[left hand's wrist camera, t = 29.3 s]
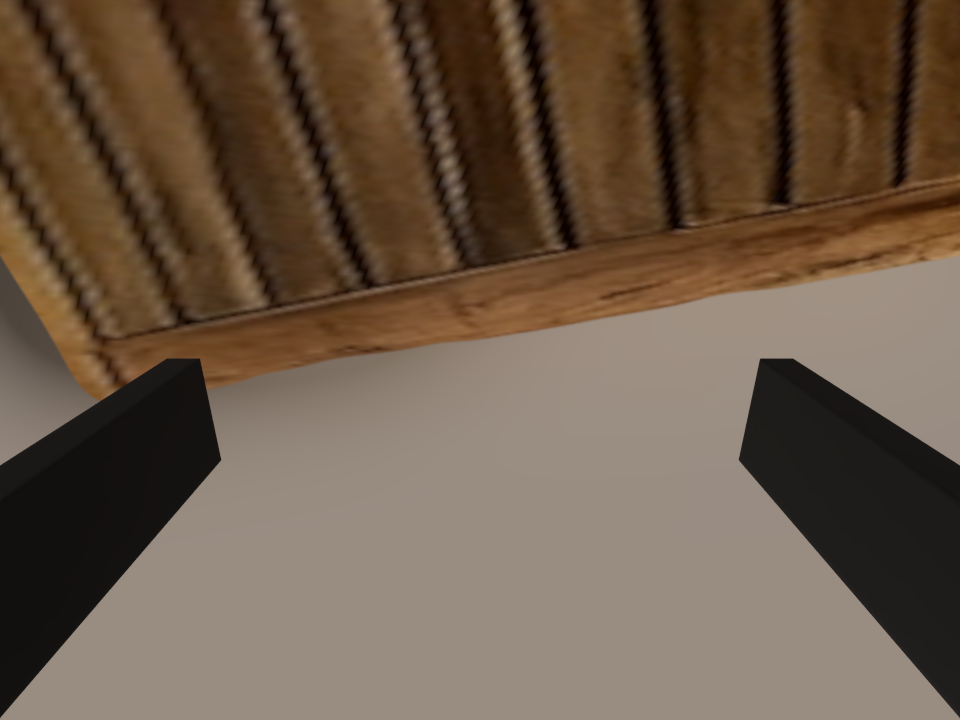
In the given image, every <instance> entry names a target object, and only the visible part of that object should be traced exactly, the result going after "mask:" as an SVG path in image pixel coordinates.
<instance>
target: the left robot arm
mask: <svg viewBox="0 0 960 720" xmlns="http://www.w3.org/2000/svg"><path fill="white" fill-rule="evenodd" d="M220 461H221V457H220V452H219V447H218V442H217V438H216V433H215V428H214V424H213V419H212V414H211V409H210V405H209V400H208V395H207V390H206V386H205V381H204V376H203V371H202V367H201V362H200V359H166V360H164V361H163V362H161V363H159V364H158V365H156V366H155V367H153V368H152V369H150V370H149V371H147V372H145V373H144V374H142V375H141V376H139V377H138V378H136V379H134V380H133V381H131V382H130V383H128V384H127V385H125V386H124V387H122V388H120V389H119V390H117V391H116V392H114V393H113V394H111V395H110V396H108V397H106V398H105V399H103V400H102V401H100V402H99V403H97V404H95V405H94V406H92V407H91V408H89V409H88V410H86V411H85V412H83V413H81V414H80V415H78V416H77V417H75V418H74V419H72V420H70V421H69V422H67V423H66V424H64V425H63V426H61V427H60V428H58V429H56V430H55V431H53V432H52V433H50V434H49V435H47V436H45V437H44V438H42V439H41V440H39V441H38V442H36V443H35V444H33V445H31V446H30V447H28V448H27V449H25V450H24V451H22V452H20V453H19V454H17V455H16V456H14V457H13V458H11V459H10V460H8V461H6V462H5V463H3V464H2V465H0V717H1V716H2V715H3V714H4V713H5V712H6V710H7V709H8V708H9V707H10V706H11V705H12V703H13V702H14V701H15V700H16V699H17V697H18V696H19V695H20V694H21V693H22V692H23V691H24V689H25V688H26V687H27V686H28V685H29V684H30V682H31V681H32V680H33V679H34V678H35V676H36V675H37V674H38V673H39V672H40V671H41V670H42V668H43V667H44V666H45V665H46V664H47V663H48V661H49V660H50V659H51V658H52V657H53V656H54V654H55V653H56V652H57V651H58V650H59V649H60V647H61V646H62V645H63V644H64V643H65V642H66V640H67V639H68V638H69V637H70V636H71V635H72V633H73V632H74V631H75V630H76V629H77V628H78V626H79V625H80V624H81V623H82V622H83V620H84V619H85V618H86V617H87V616H88V615H89V614H90V612H91V611H92V610H93V609H94V608H95V607H96V605H97V604H98V603H99V602H100V601H101V600H102V598H103V597H104V596H105V595H106V594H107V593H108V591H109V590H110V589H111V588H112V587H113V586H114V584H115V583H116V582H117V581H118V580H119V579H120V577H121V576H122V575H123V574H124V573H125V572H126V570H127V569H128V568H129V567H130V566H131V565H132V563H133V562H134V561H135V560H136V559H137V558H138V556H139V555H140V554H141V553H142V552H143V551H144V549H145V548H146V547H147V546H148V545H149V544H150V542H151V541H152V540H153V539H154V538H155V537H156V535H157V534H158V533H159V532H160V531H161V530H162V528H163V527H164V526H165V525H166V524H167V523H168V521H169V520H170V519H171V518H172V517H173V516H174V514H175V513H176V512H177V511H178V510H179V509H180V507H181V506H182V505H183V504H184V503H185V502H186V500H187V499H188V498H189V497H190V496H191V495H192V494H193V492H194V491H195V490H196V489H197V488H198V486H199V485H200V484H201V483H202V482H203V481H204V479H205V478H206V477H207V476H208V475H209V474H210V472H211V471H212V470H213V469H214V468H215V467H216V465H217V464H218V463H219V462H220ZM739 461H740V462H741V463H742V464H743V465H744V467H745V468H746V469H747V470H748V471H749V473H750V474H751V475H752V476H753V477H754V478H755V480H756V481H757V482H758V483H759V484H760V485H761V486H762V488H763V489H764V490H765V491H766V492H767V493H768V495H769V496H770V497H771V498H772V499H773V500H774V502H775V503H776V504H777V505H778V506H779V507H780V509H781V510H782V511H783V512H784V513H785V514H786V516H787V517H788V518H789V519H790V520H791V521H792V523H793V524H794V525H795V526H796V527H797V528H798V530H799V531H800V532H801V533H802V534H803V535H804V537H805V538H806V539H807V540H808V541H809V542H810V544H811V545H812V546H813V547H814V548H815V549H816V551H817V552H818V553H819V554H820V555H821V556H822V558H823V559H824V560H825V561H826V562H827V563H828V565H829V566H830V567H831V568H832V569H833V570H834V572H835V573H836V574H837V575H838V576H839V577H840V579H841V580H842V581H843V582H844V583H845V584H846V586H847V587H848V588H849V589H850V590H851V591H852V593H853V594H854V595H855V596H856V597H857V598H858V600H859V601H860V602H861V603H862V604H863V605H864V607H865V608H866V609H867V610H868V611H869V612H870V614H871V615H872V616H873V617H874V618H875V619H876V621H877V622H878V623H879V624H880V625H881V626H882V628H883V629H884V630H885V631H886V632H887V633H888V635H889V636H890V637H891V638H892V639H893V640H894V642H895V643H896V644H897V645H898V646H899V647H900V649H901V650H902V651H903V652H904V653H905V654H906V656H907V657H908V658H909V659H910V660H911V661H912V663H913V664H914V665H915V666H916V667H917V668H918V670H919V671H920V672H921V673H922V674H923V675H924V676H925V678H926V679H927V680H928V681H929V682H930V684H931V685H932V686H933V687H934V688H935V689H936V691H937V692H938V693H939V694H940V695H941V696H942V698H943V699H944V700H945V701H946V702H947V703H948V705H949V706H950V707H951V708H952V709H953V710H954V711H955V713H956V714H957V715H958V716H959V717H960V465H958V464H957V463H955V462H954V461H952V460H950V459H949V458H947V457H946V456H944V455H943V454H941V453H940V452H938V451H936V450H935V449H933V448H932V447H930V446H929V445H927V444H925V443H924V442H922V441H921V440H919V439H918V438H916V437H915V436H913V435H911V434H910V433H908V432H907V431H905V430H904V429H902V428H900V427H899V426H897V425H896V424H894V423H893V422H891V421H890V420H888V419H886V418H885V417H883V416H882V415H880V414H879V413H877V412H875V411H874V410H872V409H871V408H869V407H868V406H866V405H864V404H863V403H861V402H860V401H858V400H857V399H855V398H854V397H852V396H850V395H849V394H847V393H846V392H844V391H843V390H841V389H840V388H838V387H836V386H835V385H833V384H832V383H830V382H829V381H827V380H825V379H824V378H822V377H821V376H819V375H818V374H816V373H815V372H813V371H811V370H810V369H808V368H807V367H805V366H804V365H802V364H800V363H799V362H797V361H796V360H794V359H760V362H759V367H758V371H757V376H756V381H755V386H754V390H753V395H752V400H751V405H750V409H749V414H748V419H747V424H746V428H745V433H744V438H743V442H742V447H741V452H740V457H739Z"/></svg>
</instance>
